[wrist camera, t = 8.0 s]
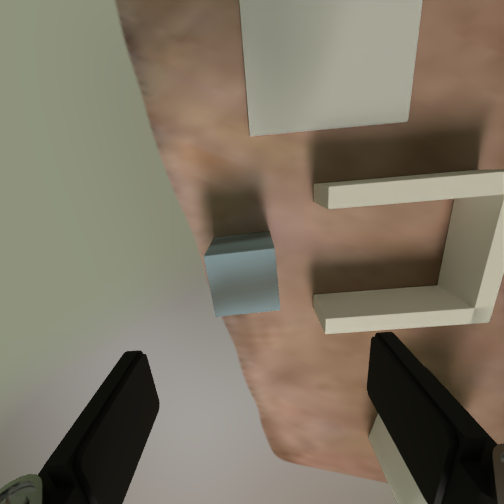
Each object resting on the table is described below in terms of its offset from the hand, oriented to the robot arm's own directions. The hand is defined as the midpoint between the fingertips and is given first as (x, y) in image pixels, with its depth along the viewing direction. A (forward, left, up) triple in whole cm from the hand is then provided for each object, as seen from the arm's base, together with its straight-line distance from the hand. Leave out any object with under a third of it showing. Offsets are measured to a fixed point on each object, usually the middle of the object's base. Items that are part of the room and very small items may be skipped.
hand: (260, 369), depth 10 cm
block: (0, -1, -13) cm, 13 cm away
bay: (0, +12, -13) cm, 18 cm away
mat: (-16, +6, -13) cm, 22 cm away
